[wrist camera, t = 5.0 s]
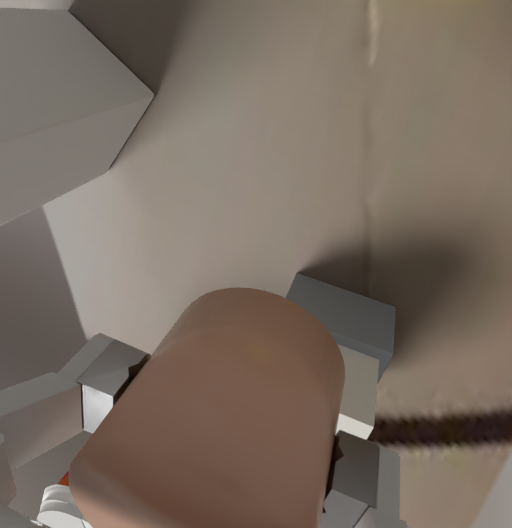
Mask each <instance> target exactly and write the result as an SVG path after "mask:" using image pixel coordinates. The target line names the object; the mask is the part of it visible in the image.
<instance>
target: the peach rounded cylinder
mask: <svg viewBox="0 0 512 528" xmlns="http://www.w3.org/2000/svg"><path fill="white" fill-rule="evenodd" d="M344 383H345V365H344V360H343V357H342V354H341V351H340V349H339V347H338V345H337V343H336V341H335V340H334V338H333V337H332V335H331V334H330V333H329V331H328V330H327V329H326V328H325V327H324V326H323V324H322V323H321V322H320V321H319V320H317V319H316V318H315V317H314V316H313V315H312V314H311V313H309V312H308V311H306V310H305V309H303V308H302V307H301V306H299V305H297V304H295V303H293V302H292V301H290V300H288V299H286V298H283V297H281V296H278V295H276V294H273V293H269V292H266V291H262V290H257V289H251V288H226V289H221V290H216V291H213V292H210V293H207V294H205V295H203V296H201V297H199V298H198V299H196V300H195V301H194V302H192V303H191V304H190V305H189V306H188V307H187V308H186V309H185V311H184V312H183V313H182V315H181V316H180V318H179V319H178V320H177V322H176V323H175V324H174V326H173V327H172V328H171V330H170V331H169V332H168V334H167V335H166V336H165V338H164V339H163V340H162V342H161V343H160V344H159V346H158V347H157V348H156V350H155V351H154V352H153V354H152V355H151V356H150V358H149V359H148V360H147V362H146V363H145V364H144V366H143V367H142V369H141V370H140V371H139V373H138V374H137V375H136V377H135V378H134V379H133V381H132V382H131V383H130V385H129V386H128V387H127V389H126V390H125V391H124V393H123V394H122V395H121V397H120V398H119V399H118V401H117V402H116V403H115V405H114V406H113V407H112V409H111V410H110V411H109V413H108V414H107V416H106V417H105V418H104V420H103V421H102V422H101V424H100V425H99V426H98V428H97V429H96V430H95V432H94V433H93V434H92V436H91V437H90V438H89V440H88V441H87V442H86V444H85V445H84V446H83V448H82V449H81V451H80V452H79V453H78V454H77V456H76V457H75V459H74V460H73V462H72V463H71V465H70V469H69V472H68V482H69V488H70V491H71V494H72V497H73V499H74V501H75V503H76V505H77V507H78V509H79V510H80V512H81V513H82V515H83V516H84V518H85V519H86V520H87V521H88V522H89V524H90V525H91V526H92V527H93V528H320V523H321V517H322V511H323V505H324V499H325V493H326V488H327V482H328V476H329V470H330V464H331V459H332V453H333V447H334V441H335V435H336V430H337V424H338V418H339V412H340V406H341V400H342V395H343V389H344Z"/></svg>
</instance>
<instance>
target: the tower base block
mask: <svg viewBox="0 0 512 528" xmlns="http://www.w3.org/2000/svg"><path fill="white" fill-rule="evenodd" d="M286 299H288V300H290V301H292V302H293V303H295V304H297V305H299V306H301V307H302V308H303V309H305V310H306V311H308V312H309V313H311V314H312V315H313V316H314V317H315V318H316V319H317V320H319V321H320V322H321V323H322V324H323V326H324V327H325V328H326V329H327V330H328V331H329V333H330V334H331V335H332V337H333V338H334V340H335V341H336V343H337V344H339V345H342V346H344V347H347V348H350V349H352V350H355V351H358V352H360V353H363V354H365V355H368V356H371V357H373V358H376V359H379V369H378V382H379V380H380V379H381V377H382V375H383V373H384V371H385V369H386V367H387V365H388V363H389V362H390V360H391V358H392V356H393V354H394V334H395V309H396V307H394V306H391V305H388V304H385V303H383V302H380V301H377V300H374V299H371V298H368V297H365V296H362V295H359V294H357V293H354V292H351V291H348V290H345V289H342V288H339V287H336V286H333V285H331V284H328V283H325V282H322V281H319V280H316V279H313V278H310V277H307V276H305V275H302V274H299V273H297V274H296V276H295V278H294V280H293V283H292V285H291V287H290V289H289V292H288V294H287V296H286ZM378 382H377V384H378Z"/></svg>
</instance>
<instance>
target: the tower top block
mask: <svg viewBox="0 0 512 528" xmlns="http://www.w3.org/2000/svg"><path fill="white" fill-rule="evenodd" d="M337 345H338V347H339V349H340V351H341V354H342V357H343V360H344V365H345V383H344V389H343V395H342V400H341V406H340V412H339V418H338V424H337V430H336V433H337V432H338V431H339V430H342V431H345V432H347V433H350V434H352V435H355V436H358V437H360V438H363V439H365V440H366V439H367V438H368V436H369V434H370V433H371V431H372V429H373V428H374V419H375V406H376V394H377V382H378V369H379V359H376V358H373V357H371V356H368V355H365V354H363V353H360V352H358V351H355V350H352V349H350V348H347V347H344V346H342V345H339V344H337Z"/></svg>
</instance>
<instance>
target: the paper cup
mask: <svg viewBox="0 0 512 528" xmlns="http://www.w3.org/2000/svg"><path fill="white" fill-rule="evenodd" d="M68 472H69V471H68ZM68 472H67V473H66V474H65V476H64V477H63V478H62V479H61V480H60V482H59V483H58V484H56V485H51V486H49V487H47V488H46V489H45V491H44V495H43V499H42V504H41V506H40V507H41V509H40V513H39V515H38V518H37V521H39V522H41V523H43V524H45V525H47V526H49V527H51V528H93V527H92V526H91V525H90V524H89V522H88V521H87V520H86V519H85V518H84V516H83V515H82V513H81V512H80V510H79V509H78V507H77V505H76V503H75V501H74V499H73V497H72V494H71V491H70V488H69V482H68Z"/></svg>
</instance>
